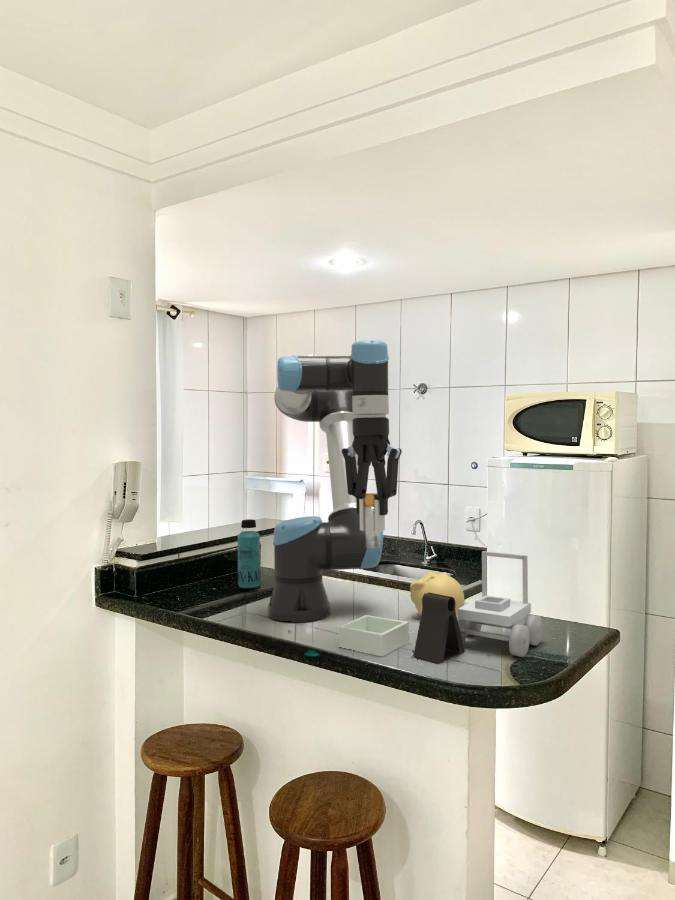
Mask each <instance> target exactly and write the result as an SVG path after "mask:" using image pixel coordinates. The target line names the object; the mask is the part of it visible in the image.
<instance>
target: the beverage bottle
mask: <svg viewBox="0 0 675 900" xmlns="http://www.w3.org/2000/svg"><path fill="white" fill-rule="evenodd" d="M240 524H241V526H240V527H241V528H242V529H253V528H254V529H255V528H256V527H257V523H256V519H251V518H250V519H249V518H247V519H242V520H241V523H240ZM260 539H261V535H260V534H259V533H258V532H257V531H254V530H243V531H241V532H239V534H238V535H237V559H236V561H237V563H236V564H237V565H236V566H237V585H238V587H239V588H242V589H252V588H258V587H260V586H261V583H262V580H261V578H262V576H261V564H262V563H261V540H260Z"/></svg>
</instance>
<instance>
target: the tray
mask: <svg viewBox="0 0 675 900" xmlns="http://www.w3.org/2000/svg"><path fill="white" fill-rule="evenodd" d="M409 623H410V622H409V621H404V620H397V619H392V618H385V617H380V616H374V615H369V614H365V615H363V616H360V617H358V618H356V619H354V620H351V621H349V622H347V623H344V624H342V625H340V626H338V648H339V647H344V648H347V649H346V650H348V649H352V650H351V651H353V650H355V651H354V652H358V651H359V652H358V653H362V652H363V653H364V654H367V655H373V656H377V657H382V658H383V657H385V656H386V655H388V654H390V653H392V652H394V651H396V650H398V649H399V648H401V647H403V646H405V645H407V644H409V643H410V635H409V634H410V633H409V632H410V628H409V627H410V625H409Z"/></svg>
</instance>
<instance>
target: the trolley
mask: <svg viewBox="0 0 675 900" xmlns="http://www.w3.org/2000/svg"><path fill="white" fill-rule="evenodd" d="M488 557H494V558H503V559H504V558H505V559H512V560H513V559H515V560H521V561H522V601H519V600H511V598H507V597H502V596H501V597H500V596H492V595H488ZM528 564H529V563H528V555H527V554H515V553H507V552H506V553H505V552H497V551H496V552H494V551H481V591H482V592H481V593H482V595H481V596H479V597H478V598H476V599H474V600H472V601H470V602H468V603H466V604H464V606H462V607H460V608H458V615H456V616H457V620H458V624H459V629H460V633H461V637H462V641H463V644H464V643H465V641H466V638H467V635H470V636H476V637H483V638H489V639H492V640H493V639H494V640H500V641H504V642H505V641H506V642H508V648H509V649H508V650H509V652H510V655H511V656H516V657H520V658H524V657H526V656H527V654H528V651H529V647H530V646H537V644H539V643H540V644H541V641H542V638H543V634H544V623H543V619H542V616H541V615H534V614H531V613H532V607H531V606H532V604H531V602H528V599H529V597H528V596H529V593H528V591H529V589H528V588H529V586H528V584H529V583H528V582H529V581H528V579H529V578H528V576H529V575H528V573H529V572H528V567H529V566H528ZM524 618H525V620H524V622H523V624H524V625H523V624H517V622H519V621H520V620H522V619H524ZM483 625H484V626H489V627H490V626H491V627H494V628H495V627H497V628H500V629H501V628H503V629H507V630H510V631H509V635H505V634H498V633H493V632H487V631H482V627H483ZM540 644H539V645H540Z"/></svg>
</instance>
